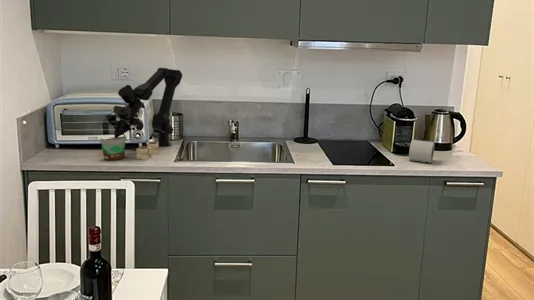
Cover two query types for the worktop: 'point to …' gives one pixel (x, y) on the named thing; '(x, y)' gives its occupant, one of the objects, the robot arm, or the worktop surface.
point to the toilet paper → (421, 151)
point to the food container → (113, 148)
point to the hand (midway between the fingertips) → (115, 137)
